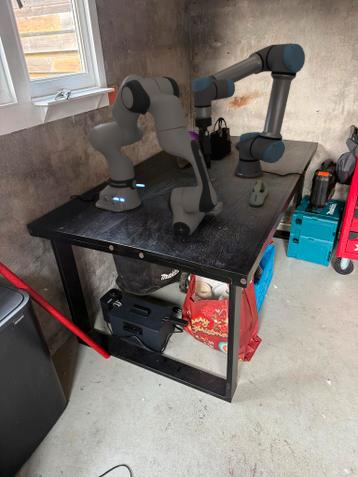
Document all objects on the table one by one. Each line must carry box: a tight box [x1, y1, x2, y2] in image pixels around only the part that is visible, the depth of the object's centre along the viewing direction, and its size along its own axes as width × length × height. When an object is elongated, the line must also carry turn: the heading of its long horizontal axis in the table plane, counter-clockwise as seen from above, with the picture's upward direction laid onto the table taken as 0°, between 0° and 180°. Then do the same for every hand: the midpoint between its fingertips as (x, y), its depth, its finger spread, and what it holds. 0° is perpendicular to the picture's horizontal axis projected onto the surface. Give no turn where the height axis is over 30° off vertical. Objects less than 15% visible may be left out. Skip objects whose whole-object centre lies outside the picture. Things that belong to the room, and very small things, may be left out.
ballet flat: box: [249, 179, 269, 207], centre depth 158 cm, size 8×24×8 cm, turn 163°
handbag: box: [207, 116, 232, 161], centre depth 217 cm, size 21×9×25 cm, turn 148°
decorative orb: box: [188, 130, 198, 142], centre depth 230 cm, size 15×15×15 cm
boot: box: [175, 156, 191, 169], centre depth 209 cm, size 9×24×20 cm, turn 168°
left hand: (204, 198), depth 146 cm, fingers closed on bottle, 5 cm apart
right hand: (205, 164), depth 155 cm, fingers open, 13 cm apart
